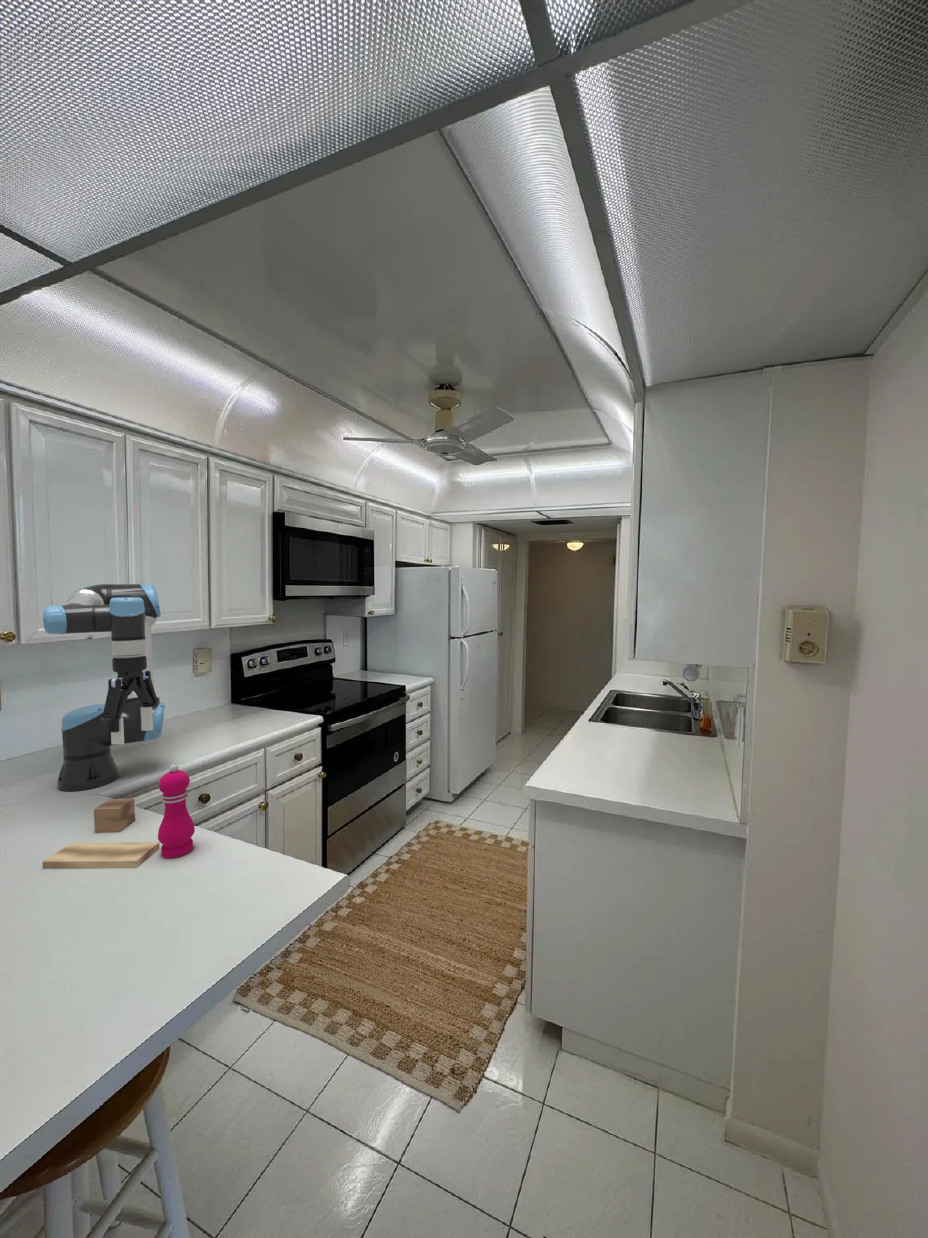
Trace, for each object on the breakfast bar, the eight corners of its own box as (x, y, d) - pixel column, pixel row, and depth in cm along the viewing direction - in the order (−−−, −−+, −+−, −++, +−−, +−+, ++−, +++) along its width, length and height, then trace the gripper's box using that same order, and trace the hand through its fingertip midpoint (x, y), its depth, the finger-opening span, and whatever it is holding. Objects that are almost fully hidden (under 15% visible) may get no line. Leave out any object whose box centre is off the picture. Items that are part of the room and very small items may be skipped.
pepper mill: (202, 843, 115) (199, 759, 114) (181, 860, 108) (177, 770, 107) (173, 842, 116) (169, 758, 115) (150, 859, 109) (146, 769, 108)
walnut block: (111, 822, 127) (110, 799, 127) (135, 821, 127) (134, 798, 127) (94, 833, 121) (93, 809, 121) (120, 832, 121) (118, 808, 121)
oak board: (72, 851, 113) (72, 842, 113) (159, 850, 113) (159, 842, 113) (42, 871, 105) (42, 861, 105) (136, 870, 105) (136, 861, 105)
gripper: (142, 650, 142) (146, 724, 144) (81, 662, 118) (86, 751, 120) (169, 650, 143) (172, 724, 144) (113, 662, 119) (117, 751, 120)
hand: (133, 736), depth 132 cm, fingers open, 12 cm apart
